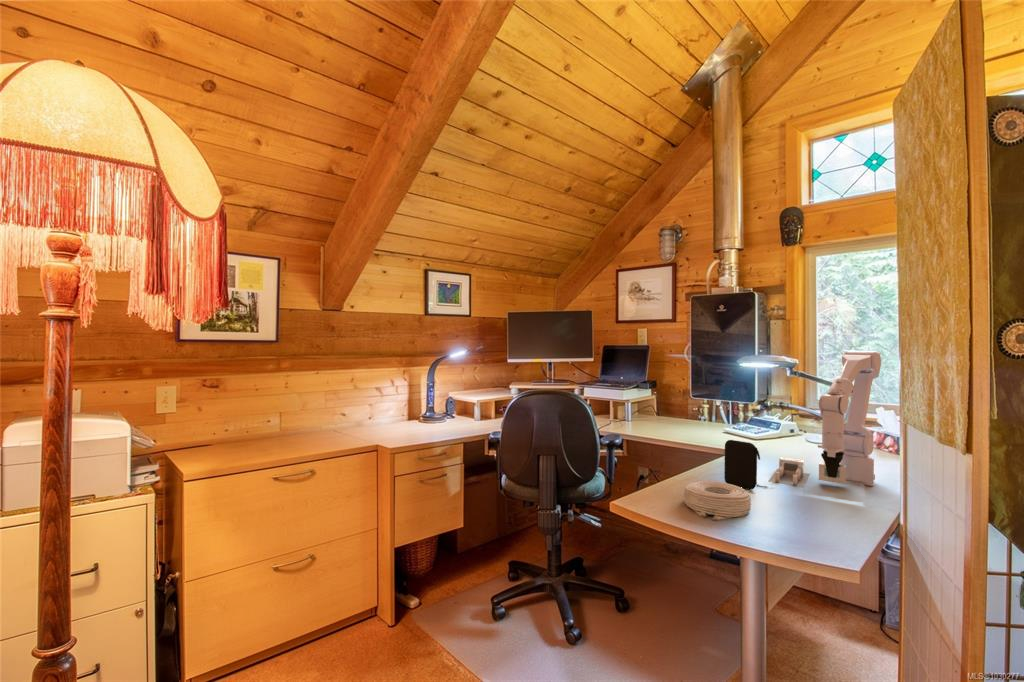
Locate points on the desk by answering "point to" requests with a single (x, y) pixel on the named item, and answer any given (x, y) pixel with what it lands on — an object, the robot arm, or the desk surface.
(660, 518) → the desk surface
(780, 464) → the tan rectangular block
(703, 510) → the cable
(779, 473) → the grey peg board
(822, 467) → the light wooden block
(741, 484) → the carrying case or bag
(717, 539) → the desk surface
